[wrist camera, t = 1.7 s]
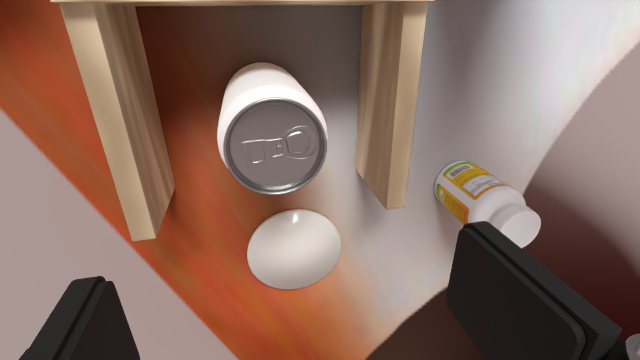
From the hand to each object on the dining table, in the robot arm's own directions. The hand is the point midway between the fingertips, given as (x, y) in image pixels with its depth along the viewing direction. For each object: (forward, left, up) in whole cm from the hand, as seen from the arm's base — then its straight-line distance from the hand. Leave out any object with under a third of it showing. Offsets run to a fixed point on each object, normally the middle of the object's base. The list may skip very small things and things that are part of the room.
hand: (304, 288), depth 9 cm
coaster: (-2, +16, -22) cm, 27 cm away
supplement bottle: (-20, +10, -23) cm, 32 cm away
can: (0, 0, -23) cm, 23 cm away
